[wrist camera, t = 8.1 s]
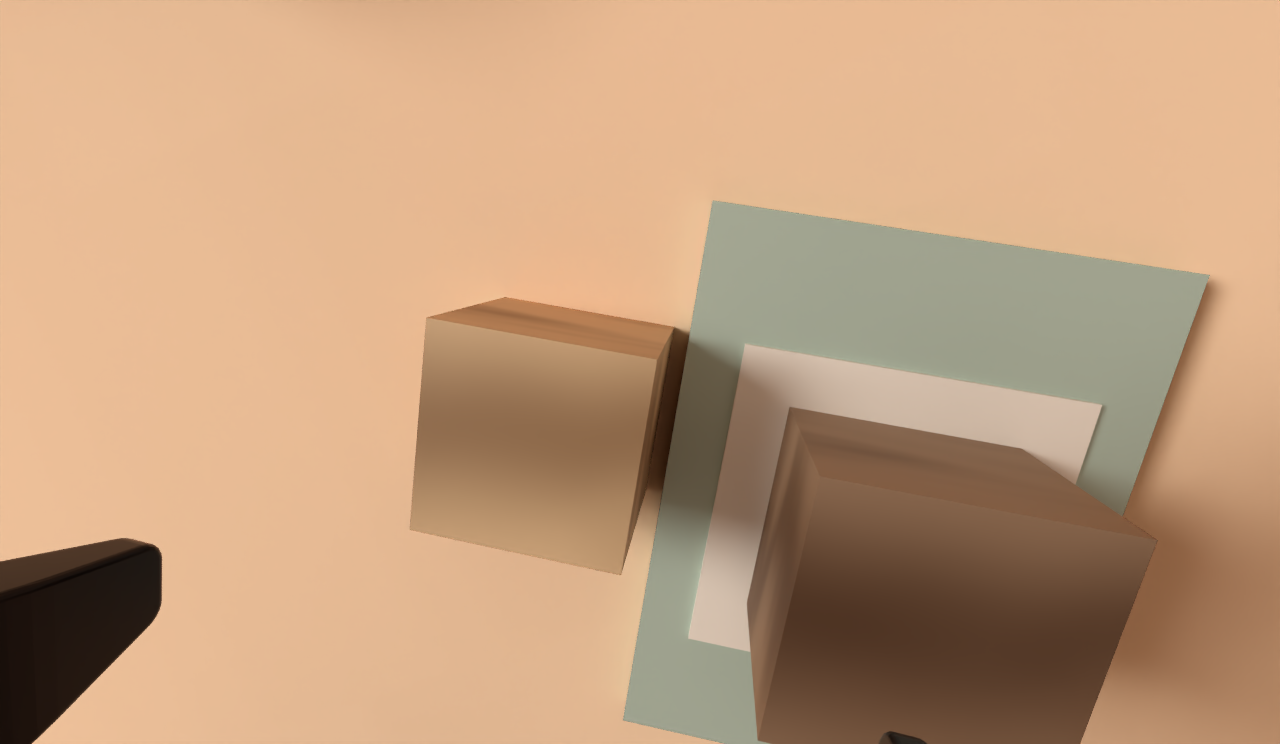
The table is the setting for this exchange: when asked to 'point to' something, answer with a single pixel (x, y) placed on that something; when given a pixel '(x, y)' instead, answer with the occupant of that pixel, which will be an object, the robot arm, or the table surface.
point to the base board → (877, 402)
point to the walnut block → (932, 590)
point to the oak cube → (538, 429)
